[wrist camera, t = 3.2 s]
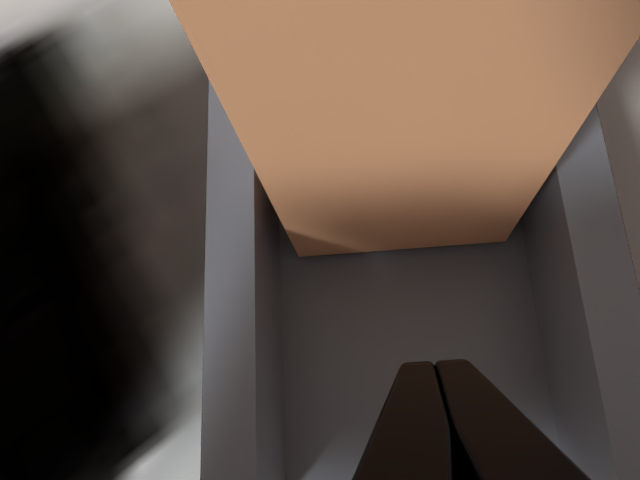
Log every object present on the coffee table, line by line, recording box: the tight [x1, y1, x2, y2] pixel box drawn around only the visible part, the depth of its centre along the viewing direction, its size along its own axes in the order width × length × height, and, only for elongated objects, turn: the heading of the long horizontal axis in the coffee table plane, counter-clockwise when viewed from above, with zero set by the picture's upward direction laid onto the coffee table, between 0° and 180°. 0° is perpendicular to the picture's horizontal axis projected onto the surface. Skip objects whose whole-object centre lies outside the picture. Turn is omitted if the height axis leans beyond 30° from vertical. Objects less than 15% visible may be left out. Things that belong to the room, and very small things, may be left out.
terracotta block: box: [169, 0, 640, 257], centre depth 10 cm, size 5×5×10 cm
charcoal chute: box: [200, 80, 640, 480], centre depth 14 cm, size 16×8×4 cm, turn 2°
